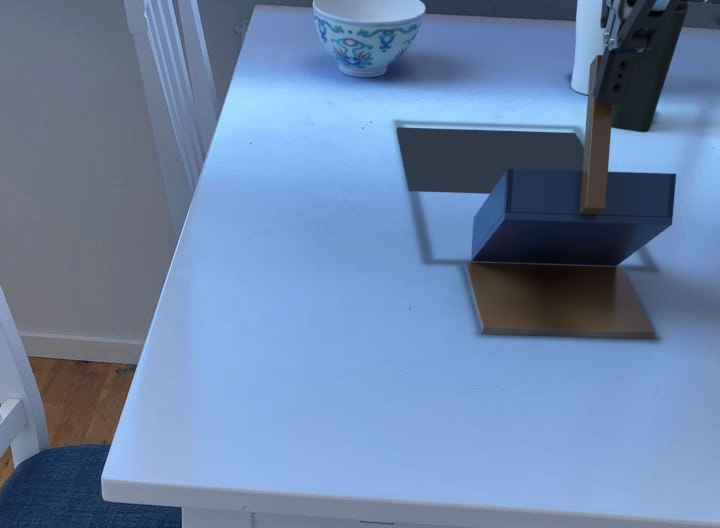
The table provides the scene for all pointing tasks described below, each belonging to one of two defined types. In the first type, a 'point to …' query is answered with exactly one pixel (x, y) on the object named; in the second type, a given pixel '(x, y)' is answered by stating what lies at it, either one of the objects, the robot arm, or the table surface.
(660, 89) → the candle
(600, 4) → the cup
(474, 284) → the stand
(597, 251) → the tray
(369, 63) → the chinaware
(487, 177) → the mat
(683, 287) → the table surface
